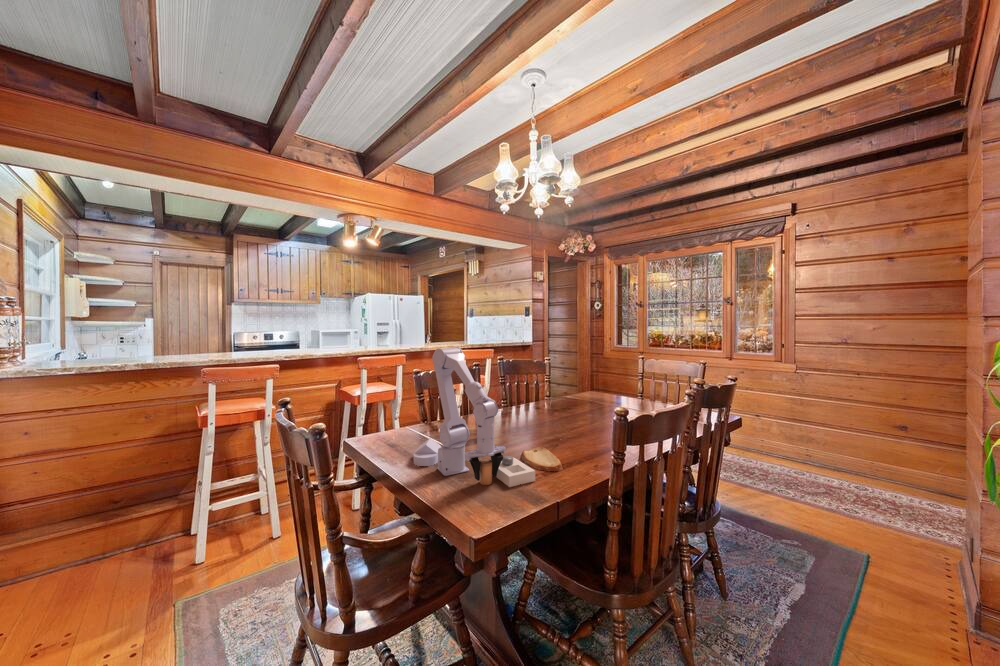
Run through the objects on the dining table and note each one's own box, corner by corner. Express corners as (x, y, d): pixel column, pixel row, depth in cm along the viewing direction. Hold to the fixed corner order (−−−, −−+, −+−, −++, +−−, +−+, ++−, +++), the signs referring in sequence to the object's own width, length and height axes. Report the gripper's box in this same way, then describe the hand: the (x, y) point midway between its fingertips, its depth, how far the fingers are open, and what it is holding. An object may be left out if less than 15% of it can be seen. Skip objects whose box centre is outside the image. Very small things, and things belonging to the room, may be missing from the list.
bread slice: (561, 474, 136) (561, 463, 136) (512, 467, 142) (512, 457, 142) (569, 456, 153) (569, 447, 153) (525, 451, 159) (525, 442, 159)
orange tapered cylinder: (483, 486, 126) (483, 464, 125) (477, 481, 129) (477, 460, 129) (494, 483, 127) (494, 462, 127) (488, 478, 131) (488, 458, 131)
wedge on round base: (419, 454, 155) (411, 466, 142) (419, 437, 155) (410, 448, 142) (441, 454, 155) (435, 466, 142) (441, 437, 155) (435, 448, 142)
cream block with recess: (509, 487, 125) (509, 470, 124) (489, 472, 137) (489, 456, 137) (535, 481, 129) (535, 464, 129) (514, 466, 142) (514, 452, 141)
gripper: (470, 444, 121) (470, 486, 121) (510, 437, 128) (510, 477, 128) (461, 437, 127) (462, 478, 127) (500, 431, 134) (500, 470, 134)
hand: (485, 477), depth 128 cm, fingers open, 6 cm apart
